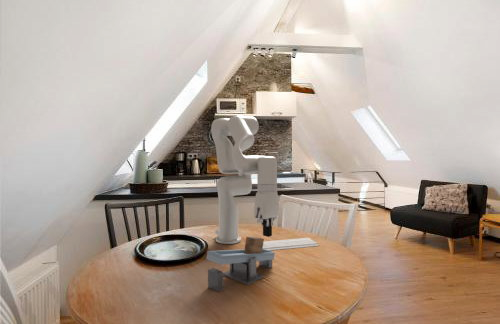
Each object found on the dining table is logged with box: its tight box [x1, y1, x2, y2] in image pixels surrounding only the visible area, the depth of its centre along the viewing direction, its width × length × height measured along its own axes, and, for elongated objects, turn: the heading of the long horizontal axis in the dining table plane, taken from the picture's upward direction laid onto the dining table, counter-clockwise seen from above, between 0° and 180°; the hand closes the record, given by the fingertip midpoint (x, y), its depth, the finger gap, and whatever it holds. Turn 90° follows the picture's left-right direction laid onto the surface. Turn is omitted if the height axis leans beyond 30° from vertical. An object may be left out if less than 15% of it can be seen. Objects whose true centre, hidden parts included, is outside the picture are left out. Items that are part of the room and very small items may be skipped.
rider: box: [244, 236, 265, 254], centre depth 115 cm, size 4×5×6 cm
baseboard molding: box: [263, 237, 320, 252], centre depth 146 cm, size 31×3×12 cm
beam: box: [206, 248, 275, 265], centre depth 111 cm, size 8×28×3 cm, turn 138°
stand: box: [207, 257, 273, 293], centre depth 111 cm, size 12×28×8 cm, turn 138°
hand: (267, 235), depth 120 cm, fingers closed
